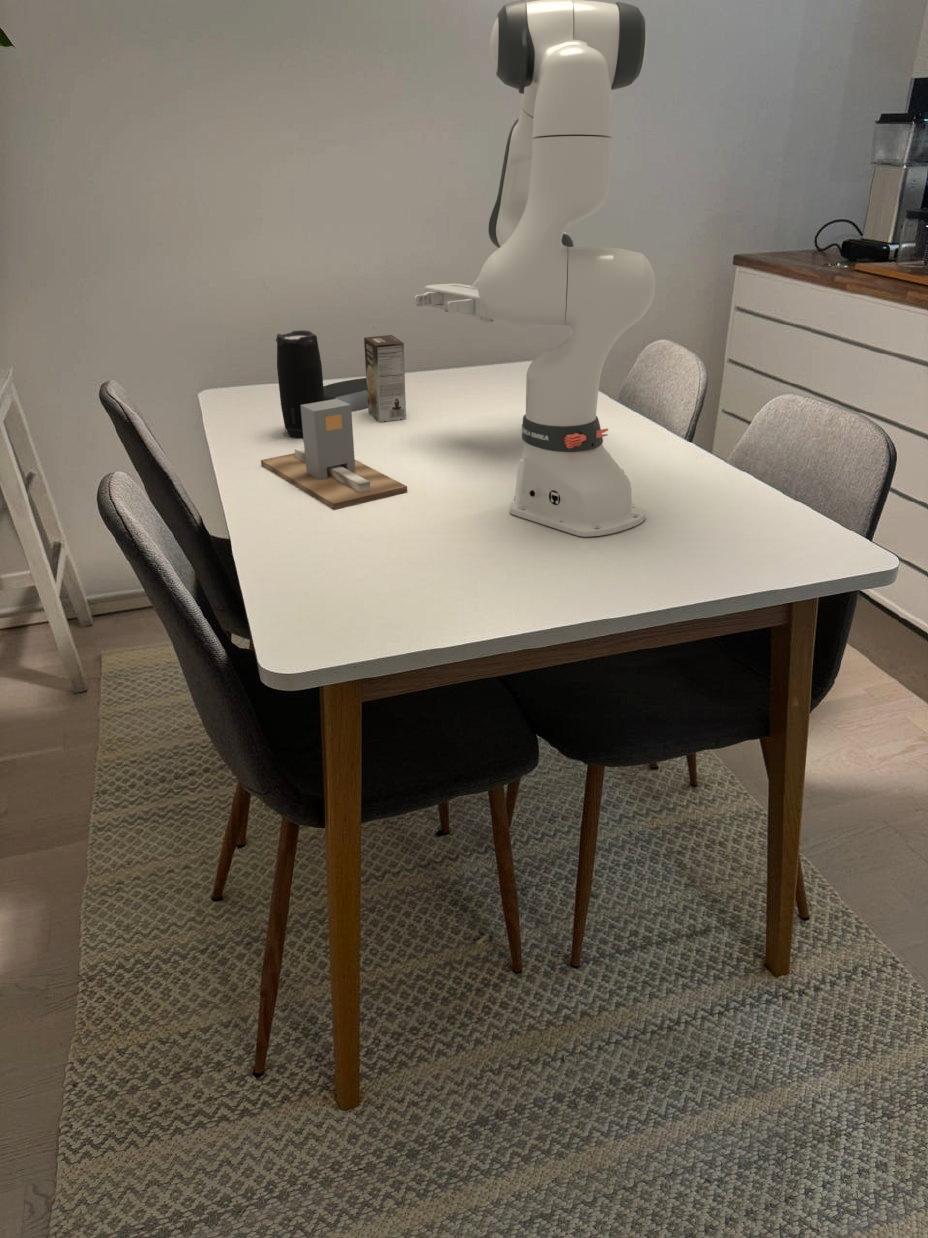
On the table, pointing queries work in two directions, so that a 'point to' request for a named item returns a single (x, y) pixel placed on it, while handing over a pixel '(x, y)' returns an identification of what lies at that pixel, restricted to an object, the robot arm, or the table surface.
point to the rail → (335, 481)
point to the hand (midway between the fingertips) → (431, 303)
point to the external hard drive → (348, 393)
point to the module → (327, 436)
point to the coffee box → (385, 377)
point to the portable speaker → (298, 376)
